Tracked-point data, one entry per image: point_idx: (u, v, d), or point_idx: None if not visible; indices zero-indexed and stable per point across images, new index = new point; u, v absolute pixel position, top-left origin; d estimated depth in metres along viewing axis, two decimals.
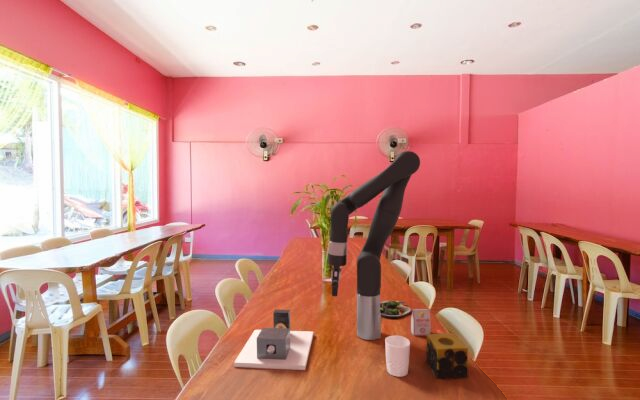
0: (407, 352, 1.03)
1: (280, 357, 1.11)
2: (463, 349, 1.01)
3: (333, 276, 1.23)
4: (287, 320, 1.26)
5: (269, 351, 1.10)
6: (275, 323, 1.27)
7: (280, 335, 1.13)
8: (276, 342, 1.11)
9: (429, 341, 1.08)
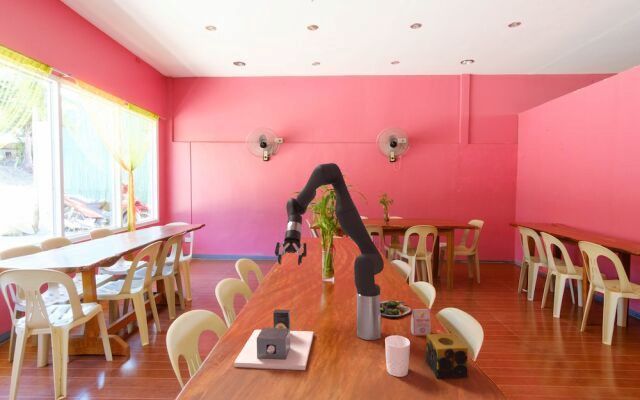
0: (407, 352, 1.03)
1: (280, 357, 1.11)
2: (463, 349, 1.01)
3: None
4: (287, 320, 1.26)
5: (269, 351, 1.10)
6: (275, 323, 1.27)
7: (280, 335, 1.13)
8: (276, 342, 1.11)
9: (429, 341, 1.08)
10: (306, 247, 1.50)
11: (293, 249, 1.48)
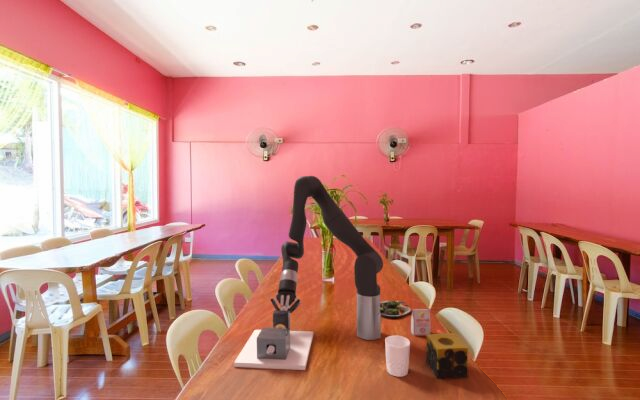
0: (407, 352, 1.03)
1: (280, 357, 1.11)
2: (463, 349, 1.01)
3: (273, 305, 1.35)
4: (287, 321, 1.26)
5: (268, 352, 1.09)
6: (275, 324, 1.26)
7: (280, 335, 1.13)
8: (276, 342, 1.11)
9: (429, 341, 1.08)
10: (298, 304, 1.34)
11: (284, 301, 1.34)
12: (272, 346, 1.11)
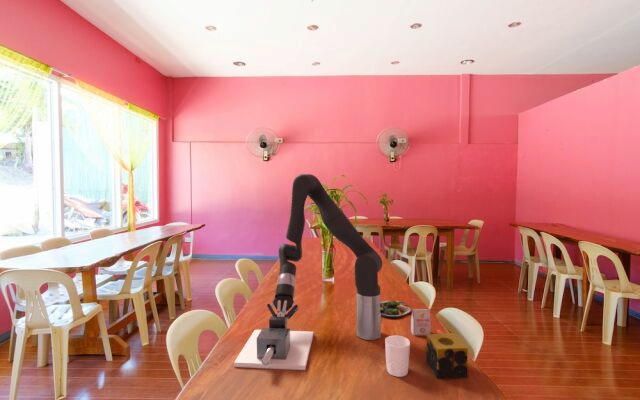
0: (407, 352, 1.03)
1: (280, 357, 1.11)
2: (463, 349, 1.01)
3: (269, 310, 1.30)
4: None
5: (264, 362, 1.03)
6: None
7: (280, 335, 1.13)
8: (276, 342, 1.11)
9: (429, 341, 1.08)
10: (295, 310, 1.28)
11: (281, 306, 1.28)
12: (268, 355, 1.05)
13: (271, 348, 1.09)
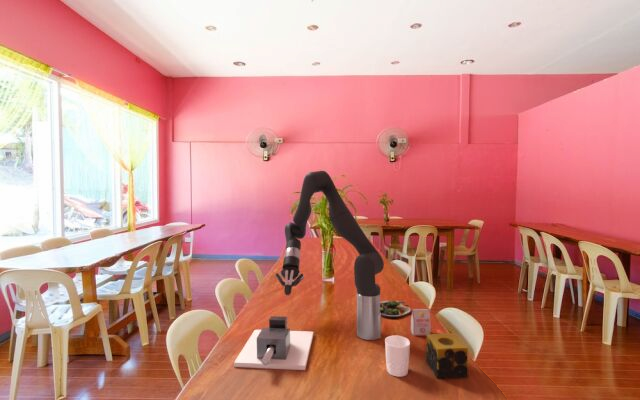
0: (407, 352, 1.03)
1: (280, 357, 1.11)
2: (463, 349, 1.01)
3: (278, 279, 1.46)
4: None
5: (264, 362, 1.03)
6: None
7: (280, 335, 1.13)
8: (276, 342, 1.11)
9: (429, 341, 1.08)
10: (301, 278, 1.44)
11: (288, 275, 1.44)
12: (268, 355, 1.05)
13: (271, 348, 1.09)
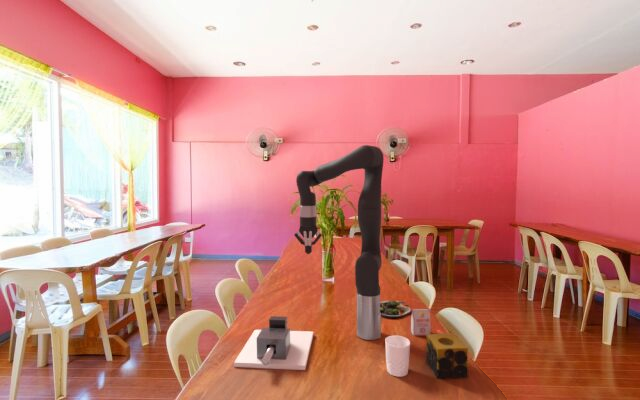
0: (407, 352, 1.03)
1: (280, 357, 1.11)
2: (463, 349, 1.01)
3: None
4: None
5: (264, 362, 1.03)
6: None
7: (280, 335, 1.13)
8: (276, 342, 1.11)
9: (429, 341, 1.08)
10: None
11: (307, 235, 1.46)
12: (268, 355, 1.05)
13: (271, 348, 1.09)
